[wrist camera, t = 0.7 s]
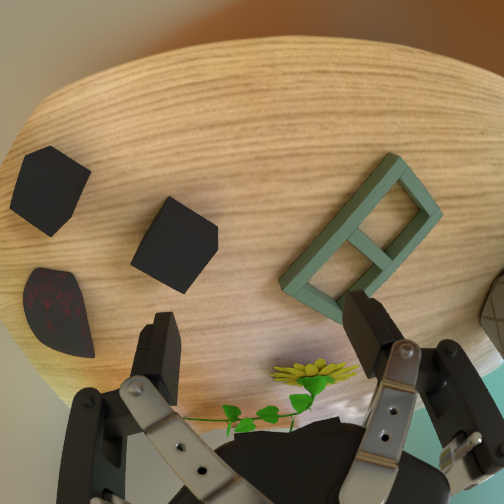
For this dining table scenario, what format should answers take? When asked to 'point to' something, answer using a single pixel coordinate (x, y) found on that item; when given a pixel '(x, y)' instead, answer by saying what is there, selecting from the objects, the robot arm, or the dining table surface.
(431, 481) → the robot arm
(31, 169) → the black block
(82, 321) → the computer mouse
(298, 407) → the flower
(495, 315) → the planter
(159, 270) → the black near-cubic block
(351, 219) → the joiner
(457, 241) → the dining table surface
